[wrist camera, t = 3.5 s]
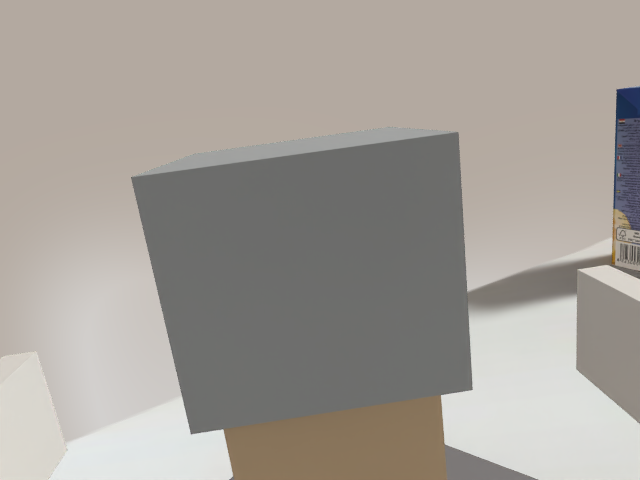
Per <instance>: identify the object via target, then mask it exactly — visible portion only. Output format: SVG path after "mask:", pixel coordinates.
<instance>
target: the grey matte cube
mask: <svg viewBox="0 0 640 480" xmlns="http://www.w3.org/2000/svg"><path fill="white" fill-rule="evenodd" d="M459 153H460V152H459V134H458V132H451V131H438V130H423V129H410V128H396V127H386V128H379V129H372V130H365V131H357V132H350V133H342V134H336V135H328V136H321V137H314V138H306V139H299V140H292V141H284V142H277V143H270V144H262V145H256V146H248V147H241V148H233V149H226V150H219V151H211V152H204V153H198V154H193V155H190V156H187V157H184V158H182V159H179V160H176V161H174V162H171V163H169V164H166V165H163V166H160V167H157V168H155V169H152V170H149V171H147V172H144V173H141V174H139V175H136V176H133V177H131V179H132V183H133V188H134V192H135V196H136V200H137V204H138V209H139V213H140V218H141V222H142V225H143V230H144V235H145V239H146V243H147V247H148V251H149V256H150V260H151V264H152V269H153V273H154V277H155V282H156V286H157V290H158V295H159V299H160V303H161V307H162V311H163V315H164V320H165V324H166V329H167V333H168V337H169V342H170V346H171V350H172V354H173V359H174V363H175V367H176V372H177V376H178V380H179V385H180V389H181V393H182V397H183V402H184V406H185V410H186V415H187V419H188V423H189V427H190V432H191V434H195V433H201V432H208V431H214V430H221V429H227V428H233V427H240V426H246V425H252V424H259V423H265V422H272V421H278V420H284V419H291V418H297V417H303V416H310V415H316V414H323V413H329V412H335V411H342V410H348V409H354V408H361V407H367V406H374V405H380V404H386V403H393V402H399V401H405V400H412V399H418V398H425V397H431V396H437V395H444V394H450V393H456V392H463V391H469V390H473V389H472V371H471V353H470V335H469V316H468V298H467V281H466V263H465V244H464V227H463V226H464V225H463V208H462V189H461V171H460V154H459Z"/></svg>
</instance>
